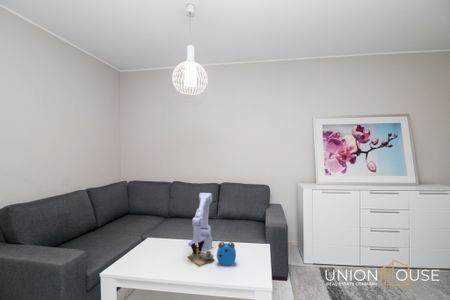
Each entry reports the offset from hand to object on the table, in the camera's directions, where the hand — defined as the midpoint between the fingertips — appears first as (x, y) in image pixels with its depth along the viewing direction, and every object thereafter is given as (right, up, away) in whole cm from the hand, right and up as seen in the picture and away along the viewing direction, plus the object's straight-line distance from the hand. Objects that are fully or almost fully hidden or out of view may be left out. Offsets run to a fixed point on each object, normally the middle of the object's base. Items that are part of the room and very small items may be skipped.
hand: (197, 252), depth 162 cm
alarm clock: (+21, -5, -8) cm, 23 cm away
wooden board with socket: (+3, -4, -1) cm, 5 cm away
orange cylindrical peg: (0, -3, 0) cm, 3 cm away
